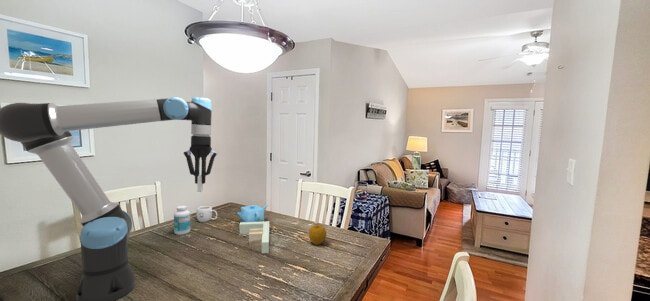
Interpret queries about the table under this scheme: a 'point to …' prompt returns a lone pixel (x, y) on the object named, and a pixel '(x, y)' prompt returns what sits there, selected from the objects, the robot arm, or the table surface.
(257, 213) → the teapot
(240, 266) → the table surface
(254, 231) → the maple block
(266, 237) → the fence
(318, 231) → the apple
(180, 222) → the pill bottle
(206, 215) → the mug
